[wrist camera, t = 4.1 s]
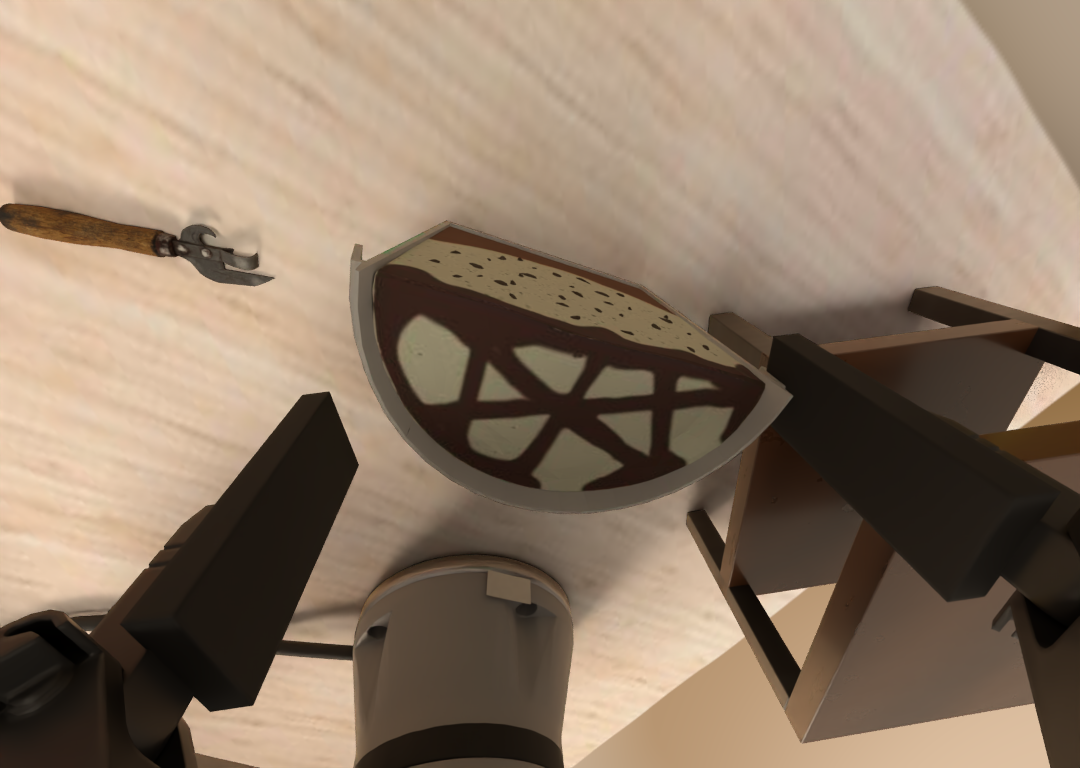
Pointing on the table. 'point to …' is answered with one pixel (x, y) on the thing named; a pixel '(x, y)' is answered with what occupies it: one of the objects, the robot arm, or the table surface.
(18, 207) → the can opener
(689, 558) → the table surface
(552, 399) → the food container
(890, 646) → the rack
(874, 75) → the table surface
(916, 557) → the robot arm
